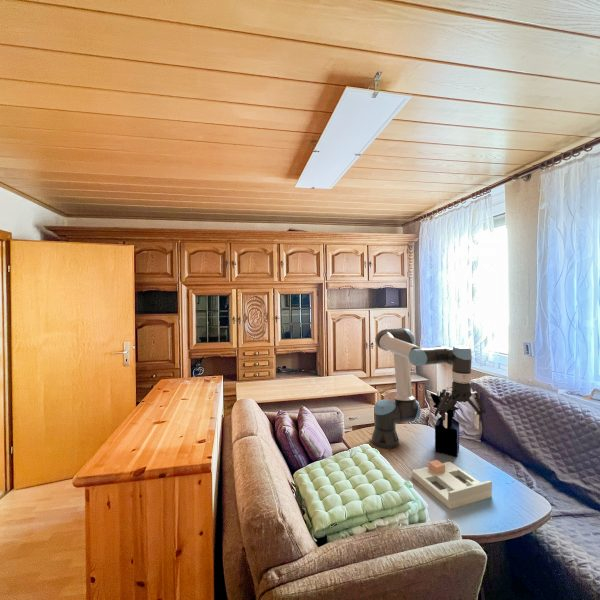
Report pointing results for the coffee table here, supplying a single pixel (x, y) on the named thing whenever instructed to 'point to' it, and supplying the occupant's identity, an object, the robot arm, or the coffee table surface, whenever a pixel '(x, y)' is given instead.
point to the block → (436, 466)
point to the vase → (446, 429)
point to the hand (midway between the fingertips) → (460, 427)
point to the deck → (453, 485)
